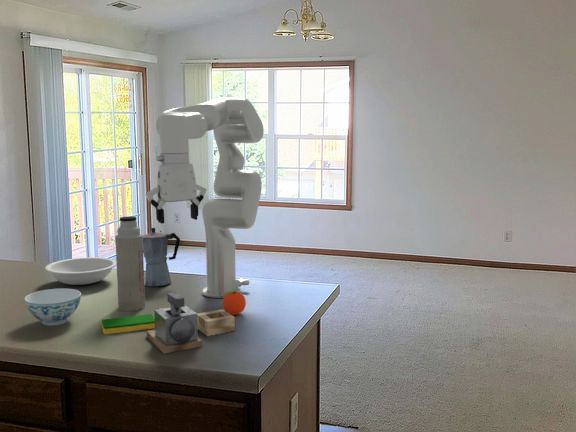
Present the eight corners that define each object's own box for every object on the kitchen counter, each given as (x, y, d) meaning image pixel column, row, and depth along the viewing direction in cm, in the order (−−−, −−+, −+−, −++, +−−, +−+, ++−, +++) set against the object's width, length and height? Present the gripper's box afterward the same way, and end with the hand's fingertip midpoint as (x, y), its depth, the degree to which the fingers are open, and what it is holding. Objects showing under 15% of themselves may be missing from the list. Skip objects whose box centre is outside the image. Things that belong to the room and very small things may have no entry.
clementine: (215, 314, 182) (214, 290, 181) (232, 308, 187) (231, 286, 186) (234, 319, 177) (233, 295, 176) (250, 314, 182) (250, 290, 181)
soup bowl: (106, 292, 205) (105, 273, 204) (34, 292, 205) (33, 273, 204) (125, 274, 229) (125, 257, 228) (61, 274, 229) (60, 257, 228)
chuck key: (185, 340, 155) (185, 297, 154) (175, 342, 154) (175, 299, 153) (177, 333, 161) (176, 291, 159) (167, 334, 160) (166, 293, 158)
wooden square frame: (222, 322, 174) (222, 309, 173) (234, 331, 167) (234, 317, 166) (196, 327, 170) (195, 313, 169) (207, 336, 163) (207, 321, 162)
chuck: (199, 341, 155) (198, 314, 154) (167, 347, 151) (166, 320, 150) (174, 321, 171) (173, 296, 170) (144, 326, 167) (143, 301, 166)
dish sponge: (101, 327, 171) (101, 319, 171) (151, 321, 176) (151, 313, 176) (104, 335, 165) (103, 327, 164) (156, 329, 170) (155, 321, 169)
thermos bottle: (149, 303, 192) (146, 215, 188) (138, 311, 184) (134, 219, 180) (125, 302, 194) (122, 214, 189) (113, 309, 186) (109, 218, 181)
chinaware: (27, 317, 179) (25, 291, 178) (81, 311, 184) (80, 286, 183) (25, 333, 165) (23, 305, 164) (83, 326, 171) (82, 300, 169)
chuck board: (182, 330, 168) (182, 324, 168) (202, 346, 156) (201, 340, 156) (146, 336, 163) (146, 331, 163) (164, 353, 151) (163, 347, 151)
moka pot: (139, 280, 220) (137, 225, 217) (182, 279, 221) (181, 225, 218) (134, 287, 210) (132, 230, 207) (180, 286, 212) (178, 229, 208)
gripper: (148, 162, 160) (152, 226, 163) (209, 158, 169) (212, 219, 172) (139, 160, 166) (143, 222, 169) (199, 156, 175) (201, 215, 178)
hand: (177, 220), depth 171 cm, fingers open, 9 cm apart
